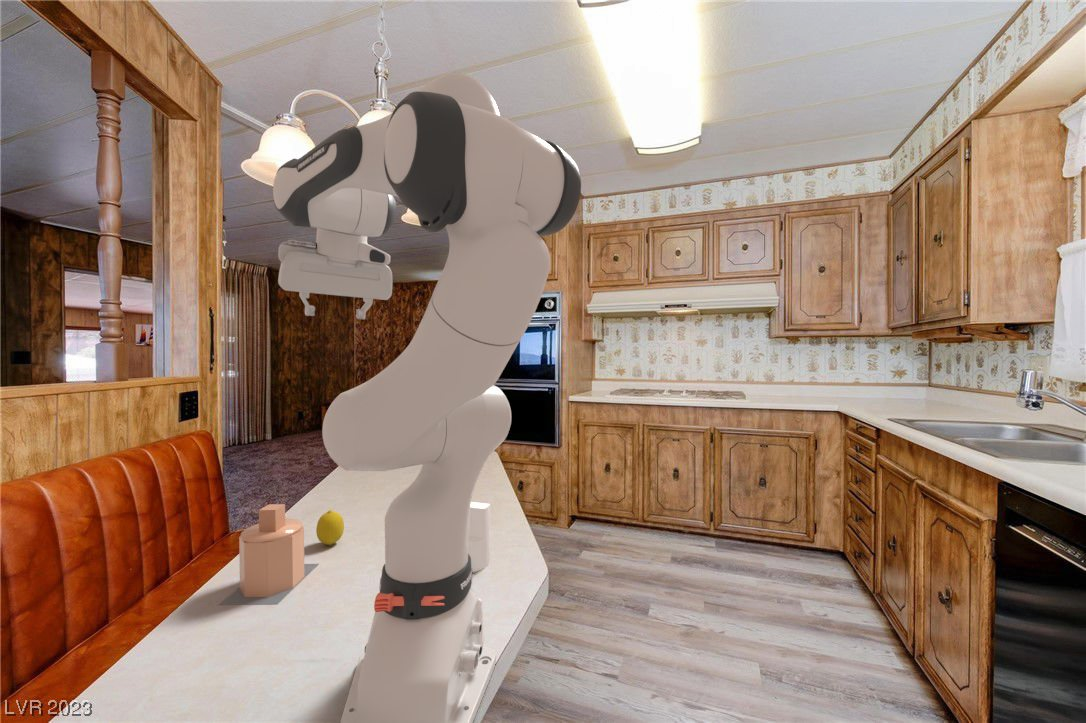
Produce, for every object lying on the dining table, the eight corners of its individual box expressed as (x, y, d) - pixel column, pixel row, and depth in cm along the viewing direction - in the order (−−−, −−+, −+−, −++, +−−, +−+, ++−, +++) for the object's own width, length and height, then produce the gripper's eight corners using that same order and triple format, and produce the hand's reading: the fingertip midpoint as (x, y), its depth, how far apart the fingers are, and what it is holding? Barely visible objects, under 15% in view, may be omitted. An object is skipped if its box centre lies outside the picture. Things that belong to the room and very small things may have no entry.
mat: (277, 606, 72) (277, 604, 72) (217, 607, 72) (217, 604, 72) (319, 565, 86) (319, 563, 86) (269, 566, 86) (269, 564, 86)
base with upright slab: (496, 555, 91) (496, 499, 91) (479, 576, 82) (479, 514, 82) (458, 549, 94) (458, 495, 93) (437, 569, 85) (437, 509, 85)
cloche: (283, 596, 75) (283, 516, 74) (228, 597, 74) (227, 517, 74) (312, 569, 84) (311, 498, 84) (263, 569, 84) (262, 498, 84)
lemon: (333, 552, 92) (332, 515, 92) (310, 550, 93) (310, 513, 93) (349, 541, 98) (349, 506, 97) (328, 539, 99) (327, 505, 99)
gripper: (280, 239, 74) (277, 317, 77) (398, 257, 86) (391, 323, 90) (276, 235, 79) (273, 309, 82) (389, 253, 91) (382, 316, 95)
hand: (335, 316), depth 86 cm, fingers open, 8 cm apart
